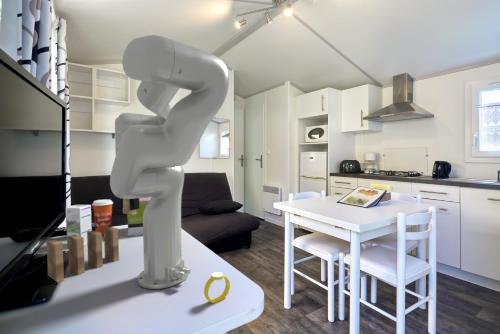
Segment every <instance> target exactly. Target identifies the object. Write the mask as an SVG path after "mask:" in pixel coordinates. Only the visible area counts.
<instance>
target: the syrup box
mask: <svg viewBox="0 0 500 334" xmlns="http://www.w3.org/2000/svg"><path fill="white" fill-rule="evenodd" d="M91 209H92V204H74V205H70V206H67V207H65V216H66V217H65V222H66V238H67V239H66V241H67V244H66V245H67V247H69V244H68V236H71V235H77V236H80V237H84V247H85V246H87V232H88V231H92V230H93V229H92V210H91Z"/></svg>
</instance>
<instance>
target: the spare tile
mask: <svg viewBox="0 0 500 334" xmlns="http://www.w3.org/2000/svg"><path fill="white" fill-rule="evenodd" d="M122 213H123V214H126V215H127V214H129V215H134V214H136V210H130V199H123V208H122Z"/></svg>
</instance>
